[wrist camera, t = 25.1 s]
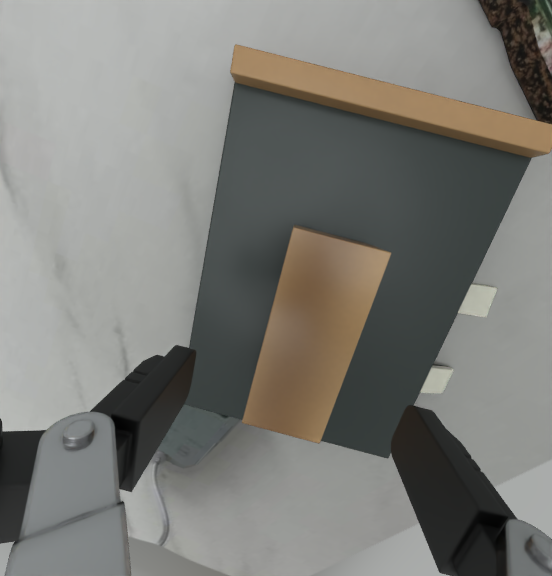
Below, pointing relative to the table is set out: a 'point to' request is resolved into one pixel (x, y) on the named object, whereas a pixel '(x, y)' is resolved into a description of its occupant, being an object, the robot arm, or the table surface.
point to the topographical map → (527, 47)
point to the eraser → (313, 331)
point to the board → (351, 224)
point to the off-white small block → (437, 379)
